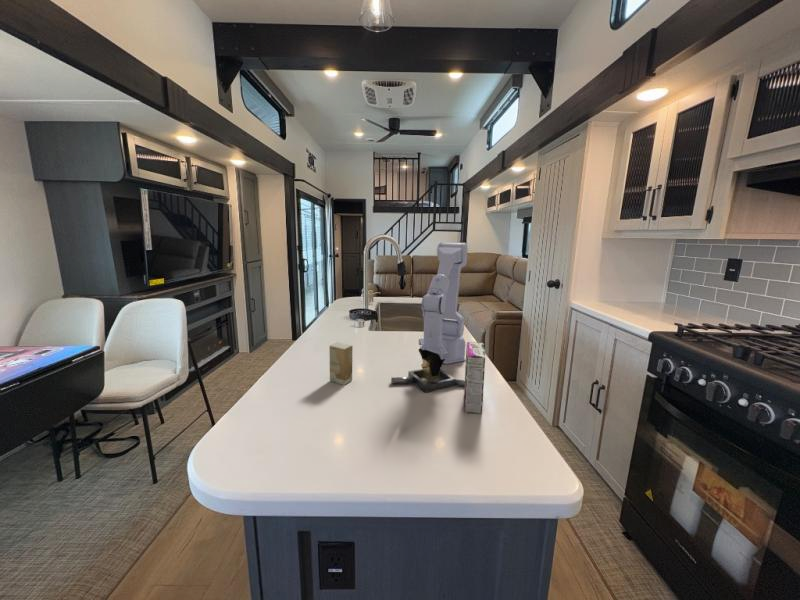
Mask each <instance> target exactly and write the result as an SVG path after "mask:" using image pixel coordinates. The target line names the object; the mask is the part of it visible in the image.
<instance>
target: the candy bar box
mask: <svg viewBox="0 0 800 600" xmlns="http://www.w3.org/2000/svg"><path fill="white" fill-rule="evenodd" d="M465 359H466V360H465V366H464V367H465V368H464V369H465V370H464V380H465V387H464V391H463V392H464V396H463V397H464V399H463V400H464V404H463V405H464V413H468V414H469V413H470V414H478V415H479V414H480V415H482V414H483V402H484V401H483V400H484V386H485V385H484V384H485V383H484V382H485V369H486V368H485V363H486V351H485V345H484V342H475V341H474V342H473V341H467V342H466V347H465Z"/></svg>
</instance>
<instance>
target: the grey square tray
mask: <svg viewBox="0 0 800 600" xmlns="http://www.w3.org/2000/svg"><path fill="white" fill-rule="evenodd" d="M422 370H423V368H419V369H414V370H410V371H409V370H408V374H407V375H408V376H407V377H413V378H414V383H413V384H414V385H415V386H416V388H418V389H419V390H420V391H422V392H423V393H424V394H429V393H432V392H433V393H434V392H437V391H441V390H446V389H450V388H454V387H456V386H455V385H454V382H455V381H456V379H457V378H455V377H454V376H452V375H450V374H449V373H448V372H446V371H445V370H443V369H442V368H441V369H440V378H439V379H437V380H432V381H428V380H427V379H425V378H424V377H423V376H422Z"/></svg>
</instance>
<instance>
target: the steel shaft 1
mask: <svg viewBox="0 0 800 600" xmlns="http://www.w3.org/2000/svg"><path fill="white" fill-rule="evenodd" d="M390 384H391V385H400V384H401V385H402V384H403V385H404V384H414V378H413V377H408V376H401V377H400V376H398V377H391V378H390Z"/></svg>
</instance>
